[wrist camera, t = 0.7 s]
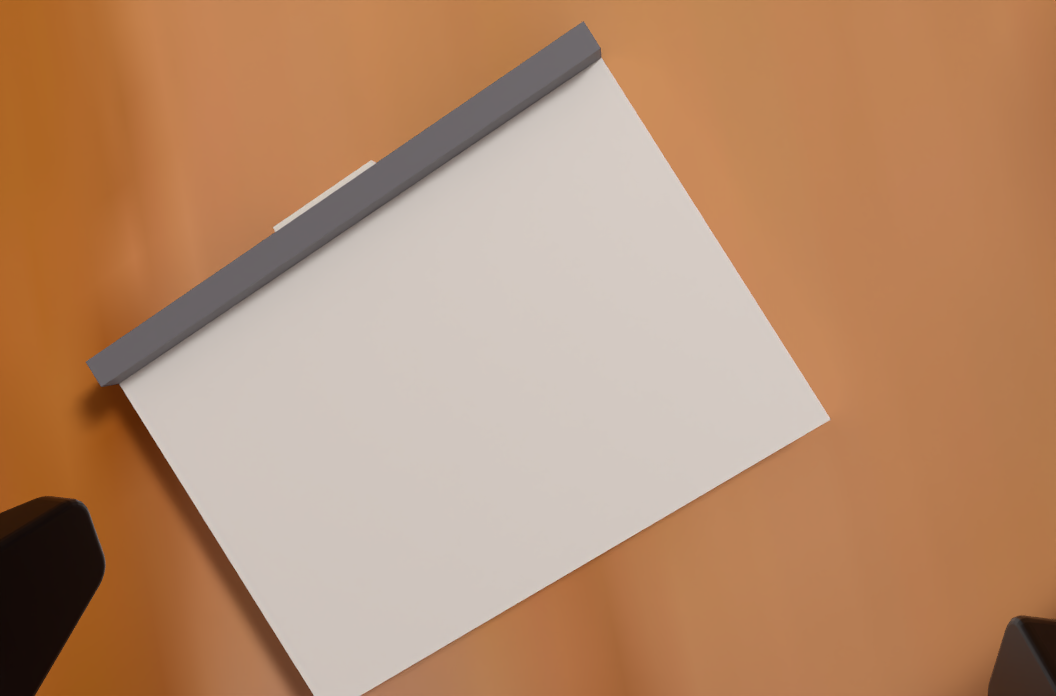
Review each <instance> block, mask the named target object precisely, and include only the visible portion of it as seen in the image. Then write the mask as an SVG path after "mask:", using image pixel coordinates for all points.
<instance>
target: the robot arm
mask: <svg viewBox="0 0 1056 696" xmlns="http://www.w3.org/2000/svg"><path fill="white" fill-rule="evenodd" d="M104 572H105V557H104V554H103V551H102V548H101V545H100V542H99V539H98V536H97V533H96V530H95V528H94V525H93V522H92V519H91V516H90V513H89V511H88V509H87V507H86V506H85V505H84V504H83V503H82V502H81V501H78V500H76V499H70V498H61V497H53V496H44V497H39V498H36V499H34V500H31V501H29V502H26V503H24V504H21V505H19V506H16V507H14V508H12V509H9V510H7V511H4V512H2V513H0V696H35V694H36V693H37V691H38V689H39V688H40V686H41V684H42V683H43V681H44V679H45V677H46V676H47V674H48V672H49V671H50V669H51V667H52V665H53V664H54V662H55V660H56V659H57V657H58V655H59V654H60V652H61V650H62V648H63V647H64V645H65V643H66V642H67V640H68V638H69V636H70V635H71V633H72V631H73V630H74V628H75V626H76V625H77V623H78V621H79V619H80V618H81V616H82V614H83V613H84V611H85V609H86V607H87V606H88V604H89V602H90V601H91V599H92V597H93V595H94V594H95V592H96V590H97V589H98V587H99V585H100V583H101V581H102V579H103V576H104ZM988 696H1056V620H1055V619H1047V618H1039V617H1031V616H1017V617H1014V618H1012V619H1011V621H1010V622H1009V623H1008V625H1007V627H1006V630H1005V633H1004V637H1003V640H1002V643H1001V646H1000V649H999V653H998V656H997V659H996V662H995V666H994V669H993V672H992V675H991V679H990V682H989V688H988Z"/></svg>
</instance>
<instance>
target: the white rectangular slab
mask: <svg viewBox="0 0 1056 696" xmlns="http://www.w3.org/2000/svg"><path fill="white" fill-rule="evenodd" d="M273 228H274V230H275V233H273V234H272V235H271V236H269V237H268V238H266V239H265V240H263V241H262V242H260V243H259V244H257V245H256V246H254V247H253V248H252V249H250V250H249V251H247V252H246V253H244V254H243V255H241V256H240V257H238V258H237V259H235V260H234V261H233V262H231V263H230V264H228V265H227V266H225V267H224V268H222V269H221V270H219V271H218V272H216V273H215V274H214V275H212V276H211V277H209V278H208V279H206V280H205V281H203V282H202V283H200V284H199V285H197V286H196V287H195V288H193V289H192V290H190V291H189V292H187V293H186V294H184V295H183V296H181V297H180V298H178V299H177V300H176V301H174V302H173V303H171V304H170V305H168V306H167V307H165V308H164V309H162V310H161V311H160V312H158V313H157V314H155V315H154V316H152V317H151V318H149V319H148V320H146V321H145V322H143V323H142V324H141V325H139V326H138V327H136V328H135V329H133V330H132V331H130V332H129V333H127V334H126V335H124V336H123V337H122V338H120V339H119V340H117V341H116V342H114V343H113V344H111V345H110V346H108V347H107V348H105V349H104V350H103V351H101V352H100V353H98V354H97V355H95V356H94V357H92V358H91V359H89V360H88V361H86V363H87V365H88V366H89V368H90V370H91V371H92V373H93V374H94V376H95V378H96V379H97V381H98V382H99V384H100V386H101V387H103V386H109V385H115V384H120V386H121V388H122V389H123V391H124V392H125V394H126V396H127V397H128V399H129V400H130V402H131V404H132V405H133V407H134V409H135V410H136V412H137V413H138V415H139V417H140V418H141V420H142V421H143V423H144V425H145V426H146V428H147V429H148V431H149V433H150V434H151V436H152V437H153V439H154V441H155V442H156V444H157V445H158V447H159V449H160V450H161V452H162V453H163V455H164V457H165V458H166V460H167V461H168V463H169V465H170V466H171V468H172V469H173V471H174V473H175V474H176V476H177V477H178V479H179V481H180V482H181V484H182V485H183V487H184V489H185V490H186V492H187V493H188V495H189V497H190V498H191V500H192V501H193V503H194V505H195V506H196V508H197V509H198V511H199V513H200V514H201V516H202V517H203V519H204V521H205V522H206V524H207V525H208V527H209V529H210V530H211V532H212V533H213V535H214V537H215V538H216V540H217V541H218V543H219V545H220V546H221V548H222V549H223V551H224V553H225V554H226V556H227V557H228V559H229V561H230V562H231V564H232V565H233V567H234V569H235V570H236V572H237V573H238V575H239V577H240V578H241V580H242V581H243V583H244V585H245V586H246V588H247V589H248V591H249V593H250V594H251V596H252V597H253V599H254V601H255V602H256V604H257V605H258V607H259V609H260V610H261V612H262V613H263V615H264V617H265V618H266V620H267V621H268V623H269V625H270V626H271V628H272V629H273V631H274V633H275V634H276V636H277V637H278V639H279V641H280V642H281V644H282V645H283V647H284V649H285V650H286V652H287V653H288V655H289V657H290V658H291V660H292V661H293V663H294V665H295V666H296V668H297V669H298V671H299V673H300V674H301V676H302V677H303V679H304V681H305V682H306V684H307V685H308V687H309V689H310V690H311V692H312V693H313V695H314V696H360V695H362V694H364V693H366V692H367V691H369V690H371V689H372V688H374V687H376V686H377V685H379V684H381V683H383V682H384V681H386V680H388V679H389V678H391V677H393V676H394V675H396V674H398V673H400V672H401V671H403V670H405V669H406V668H408V667H410V666H412V665H413V664H415V663H417V662H418V661H420V660H422V659H423V658H425V657H427V656H429V655H430V654H432V653H434V652H435V651H437V650H439V649H440V648H442V647H444V646H446V645H447V644H449V643H451V642H452V641H454V640H456V639H458V638H459V637H461V636H463V635H464V634H466V633H468V632H469V631H471V630H473V629H475V628H476V627H478V626H480V625H481V624H483V623H485V622H486V621H488V620H490V619H492V618H493V617H495V616H497V615H498V614H500V613H502V612H503V611H505V610H507V609H509V608H510V607H512V606H514V605H515V604H517V603H519V602H521V601H522V600H524V599H526V598H527V597H529V596H531V595H532V594H534V593H536V592H538V591H539V590H541V589H543V588H544V587H546V586H548V585H549V584H551V583H553V582H555V581H556V580H558V579H560V578H561V577H563V576H565V575H567V574H568V573H570V572H572V571H573V570H575V569H577V568H578V567H580V566H582V565H584V564H585V563H587V562H589V561H590V560H592V559H594V558H595V557H597V556H599V555H601V554H602V553H604V552H606V551H607V550H609V549H611V548H613V547H614V546H616V545H618V544H619V543H621V542H623V541H624V540H626V539H628V538H630V537H631V536H633V535H635V534H636V533H638V532H640V531H641V530H643V529H645V528H647V527H648V526H650V525H652V524H653V523H655V522H657V521H659V520H660V519H662V518H664V517H665V516H667V515H669V514H670V513H672V512H674V511H676V510H677V509H679V508H681V507H682V506H684V505H686V504H687V503H689V502H691V501H693V500H694V499H696V498H698V497H699V496H701V495H703V494H705V493H706V492H708V491H710V490H711V489H713V488H715V487H716V486H718V485H720V484H722V483H723V482H725V481H727V480H728V479H730V478H732V477H733V476H735V475H737V474H739V473H740V472H742V471H744V470H745V469H747V468H749V467H750V466H752V465H754V464H756V463H757V462H759V461H761V460H762V459H764V458H766V457H768V456H769V455H771V454H773V453H774V452H776V451H778V450H779V449H781V448H783V447H785V446H786V445H788V444H790V443H791V442H793V441H795V440H796V439H798V438H800V437H802V436H803V435H805V434H807V433H808V432H810V431H812V430H814V429H815V428H817V427H819V426H820V425H822V424H824V423H825V422H827V421H829V420H831V419H830V418H829V416H828V414H827V413H826V411H825V410H824V408H823V406H822V405H821V403H820V402H819V400H818V399H817V397H816V395H815V394H814V392H813V391H812V389H811V388H810V386H809V384H808V383H807V381H806V380H805V378H804V377H803V375H802V373H801V372H800V370H799V369H798V367H797V365H796V364H795V362H794V361H793V359H792V358H791V356H790V354H789V353H788V351H787V350H786V348H785V347H784V345H783V343H782V342H781V340H780V339H779V337H778V336H777V334H776V332H775V331H774V329H773V328H772V326H771V324H770V323H769V321H768V320H767V318H766V317H765V315H764V313H763V312H762V310H761V309H760V307H759V306H758V304H757V302H756V301H755V299H754V298H753V296H752V295H751V293H750V291H749V290H748V288H747V287H746V285H745V283H744V282H743V280H742V279H741V277H740V276H739V274H738V272H737V271H736V269H735V268H734V266H733V265H732V263H731V261H730V260H729V258H728V257H727V255H726V254H725V252H724V250H723V249H722V247H721V246H720V244H719V242H718V241H717V239H716V238H715V236H714V235H713V233H712V231H711V230H710V228H709V227H708V225H707V224H706V222H705V220H704V219H703V217H702V216H701V214H700V212H699V211H698V209H697V208H696V206H695V205H694V203H693V201H692V200H691V198H690V197H689V195H688V194H687V192H686V190H685V189H684V187H683V186H682V184H681V183H680V181H679V179H678V178H677V176H676V175H675V173H674V171H673V170H672V168H671V167H670V165H669V164H668V162H667V160H666V159H665V157H664V156H663V154H662V153H661V151H660V149H659V148H658V146H657V145H656V143H655V142H654V140H653V138H652V137H651V135H650V134H649V132H648V130H647V129H646V127H645V126H644V124H643V123H642V121H641V119H640V118H639V116H638V115H637V113H636V112H635V110H634V108H633V107H632V105H631V104H630V102H629V101H628V99H627V97H626V96H625V94H624V93H623V91H622V89H621V88H620V86H619V85H618V83H617V82H616V80H615V78H614V77H613V75H612V74H611V72H610V71H609V69H608V67H607V66H606V64H605V63H604V61H603V59H602V58H601V48H600V46H599V45H598V43H597V42H596V40H595V39H594V37H593V35H592V34H591V32H590V31H589V29H588V28H587V26H586V24H585V23H584V21H583V22H582V23H580V24H579V25H577V26H576V27H574V28H573V29H571V30H570V31H568V32H567V33H566V34H564V35H563V36H561V37H560V38H558V39H557V40H555V41H554V42H552V43H551V44H550V45H548V46H547V47H545V48H544V49H542V50H541V51H539V52H538V53H536V54H535V55H533V56H532V57H531V58H529V59H528V60H526V61H525V62H523V63H522V64H520V65H519V66H517V67H516V68H514V69H513V70H512V71H510V72H509V73H507V74H506V75H504V76H503V77H501V78H500V79H498V80H497V81H495V82H494V83H493V84H491V85H490V86H488V87H487V88H485V89H484V90H482V91H481V92H479V93H478V94H476V95H475V96H474V97H472V98H471V99H469V100H468V101H466V102H465V103H463V104H462V105H460V106H459V107H457V108H456V109H455V110H453V111H452V112H450V113H449V114H447V115H446V116H444V117H443V118H441V119H440V120H438V121H437V122H436V123H434V124H433V125H431V126H430V127H428V128H427V129H425V130H424V131H422V132H421V133H420V134H418V135H417V136H415V137H414V138H412V139H411V140H409V141H408V142H406V143H405V144H403V145H402V146H401V147H399V148H398V149H396V150H395V151H393V152H392V153H390V154H389V155H387V156H386V157H384V158H383V159H382V160H380V161H379V162H377V163H376V162H374V161H372V160H371V161H369V162H368V163H366V164H365V165H363V166H362V167H360V168H359V169H357V170H356V171H355V172H353V173H352V174H350V175H349V176H347V177H346V178H344V179H343V180H341V181H340V182H339V183H337V184H336V185H334V186H333V187H331V188H330V189H328V190H327V191H325V192H324V193H322V194H321V195H320V196H318V197H317V198H315V199H314V200H312V201H311V202H309V203H308V204H306V205H305V206H304V207H302V208H301V209H299V210H298V211H296V212H295V213H293V214H292V215H290V216H289V217H287V218H286V219H285V220H283V221H282V222H280V223H279V224H277V225H276V226H274V227H273Z"/></svg>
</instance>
